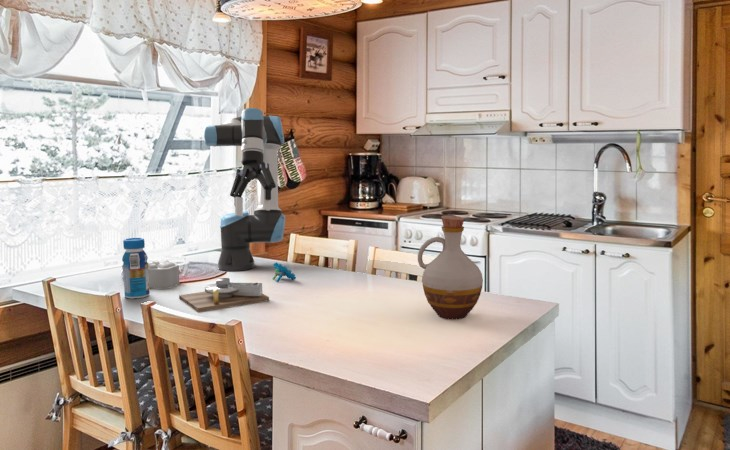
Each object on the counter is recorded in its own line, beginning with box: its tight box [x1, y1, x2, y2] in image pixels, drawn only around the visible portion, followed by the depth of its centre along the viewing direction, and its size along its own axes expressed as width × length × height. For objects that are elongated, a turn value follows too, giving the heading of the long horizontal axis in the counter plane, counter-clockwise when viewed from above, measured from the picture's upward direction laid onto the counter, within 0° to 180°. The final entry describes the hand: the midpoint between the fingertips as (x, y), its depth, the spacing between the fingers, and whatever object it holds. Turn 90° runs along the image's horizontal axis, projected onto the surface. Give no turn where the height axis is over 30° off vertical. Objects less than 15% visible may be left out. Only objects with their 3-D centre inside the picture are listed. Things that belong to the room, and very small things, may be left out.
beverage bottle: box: [121, 237, 151, 300], centre depth 207 cm, size 8×8×20 cm
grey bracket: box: [204, 277, 263, 296], centre depth 202 cm, size 19×12×5 cm, turn 83°
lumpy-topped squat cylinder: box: [147, 259, 180, 290], centre depth 225 cm, size 10×13×9 cm
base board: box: [178, 291, 270, 313], centre depth 202 cm, size 20×24×3 cm
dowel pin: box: [213, 290, 219, 305], centre depth 192 cm, size 2×2×4 cm
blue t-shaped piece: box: [272, 262, 297, 283], centre depth 229 cm, size 11×6×10 cm
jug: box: [417, 215, 484, 321], centre depth 179 cm, size 20×18×30 cm
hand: (252, 213), depth 204 cm, fingers open, 13 cm apart
